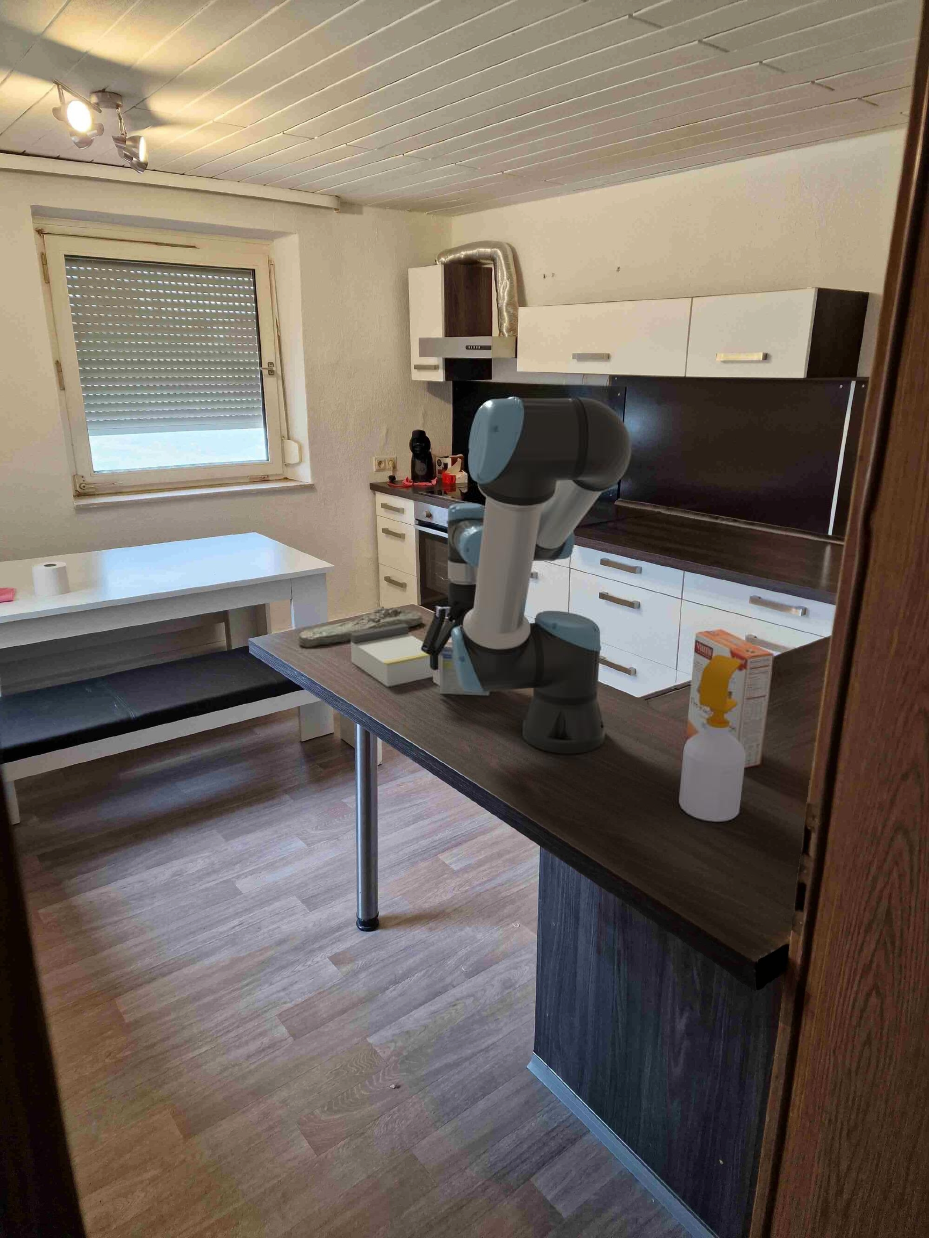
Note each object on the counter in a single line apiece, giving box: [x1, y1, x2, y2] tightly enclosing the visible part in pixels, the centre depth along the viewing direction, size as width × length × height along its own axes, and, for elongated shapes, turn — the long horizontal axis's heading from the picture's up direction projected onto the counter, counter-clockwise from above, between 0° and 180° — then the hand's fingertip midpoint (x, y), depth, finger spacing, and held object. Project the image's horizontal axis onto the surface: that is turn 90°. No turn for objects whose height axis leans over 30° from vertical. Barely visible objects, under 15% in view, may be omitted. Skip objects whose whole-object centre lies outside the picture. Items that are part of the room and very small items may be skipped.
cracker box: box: [686, 628, 775, 769], centre depth 141 cm, size 14×6×21 cm, turn 21°
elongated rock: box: [298, 606, 423, 648], centre depth 207 cm, size 35×5×10 cm
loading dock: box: [350, 624, 433, 688], centre depth 183 cm, size 18×14×7 cm
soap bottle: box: [678, 655, 746, 823], centre depth 122 cm, size 9×9×25 cm
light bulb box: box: [439, 637, 490, 696], centre depth 170 cm, size 11×7×11 cm, turn 84°
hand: (465, 677), depth 171 cm, fingers open, 13 cm apart
